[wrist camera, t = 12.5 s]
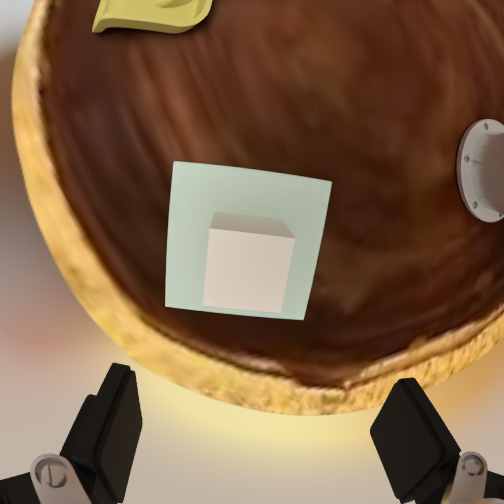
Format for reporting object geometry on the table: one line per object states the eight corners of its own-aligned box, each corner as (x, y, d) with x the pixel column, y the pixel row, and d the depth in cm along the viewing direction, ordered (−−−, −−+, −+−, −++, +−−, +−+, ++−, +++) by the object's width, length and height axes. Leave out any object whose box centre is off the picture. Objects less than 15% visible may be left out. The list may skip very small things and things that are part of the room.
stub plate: (328, 180, 27) (343, 185, 23) (301, 315, 32) (309, 335, 28) (176, 160, 26) (166, 162, 22) (167, 301, 30) (159, 321, 26)
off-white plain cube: (282, 219, 27) (295, 238, 22) (271, 281, 29) (280, 312, 23) (215, 211, 27) (209, 228, 21) (208, 274, 28) (202, 305, 23)
